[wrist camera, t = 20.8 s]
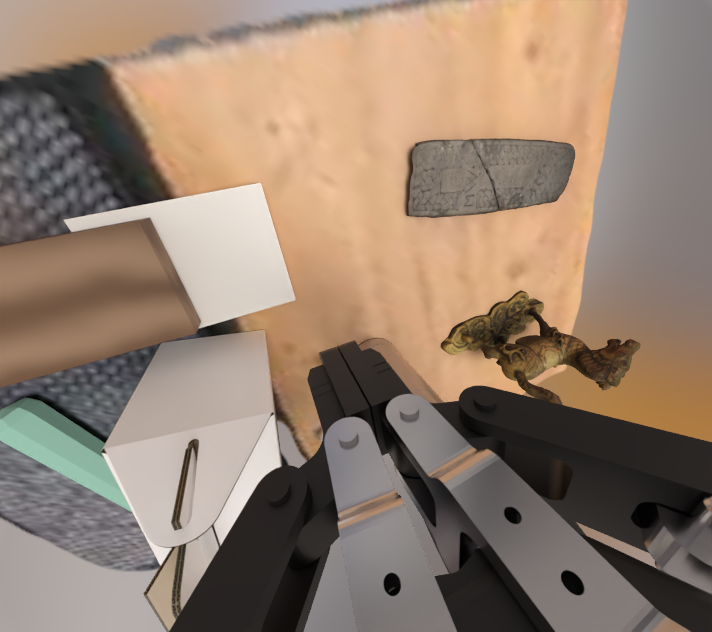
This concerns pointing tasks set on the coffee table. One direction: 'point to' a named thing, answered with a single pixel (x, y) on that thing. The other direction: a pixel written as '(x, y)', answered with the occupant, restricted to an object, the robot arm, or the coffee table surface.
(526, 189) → the stone slab
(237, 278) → the riser
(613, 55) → the coffee table surface
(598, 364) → the figurine
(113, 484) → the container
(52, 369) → the plank
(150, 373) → the gable box
